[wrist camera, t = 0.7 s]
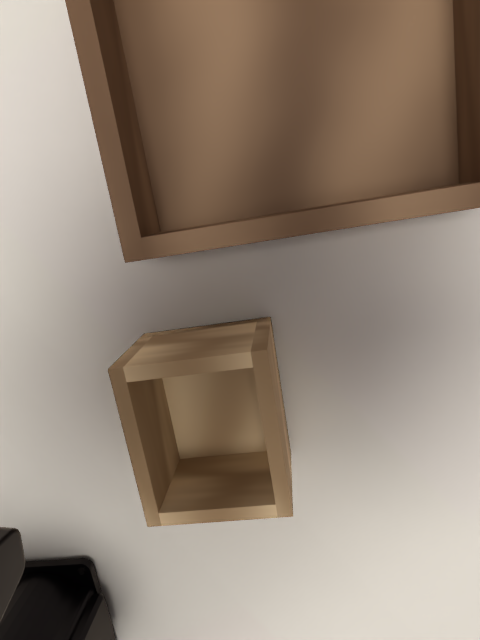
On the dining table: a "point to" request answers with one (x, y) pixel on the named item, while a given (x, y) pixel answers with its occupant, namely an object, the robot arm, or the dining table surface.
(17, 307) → the dining table surface
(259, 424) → the small crate
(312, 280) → the dining table surface
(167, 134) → the big crate
